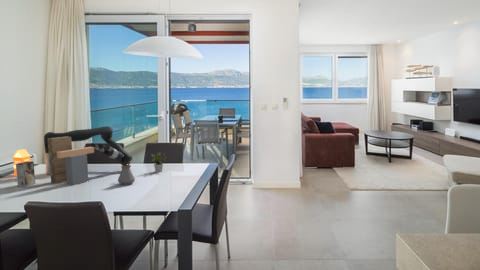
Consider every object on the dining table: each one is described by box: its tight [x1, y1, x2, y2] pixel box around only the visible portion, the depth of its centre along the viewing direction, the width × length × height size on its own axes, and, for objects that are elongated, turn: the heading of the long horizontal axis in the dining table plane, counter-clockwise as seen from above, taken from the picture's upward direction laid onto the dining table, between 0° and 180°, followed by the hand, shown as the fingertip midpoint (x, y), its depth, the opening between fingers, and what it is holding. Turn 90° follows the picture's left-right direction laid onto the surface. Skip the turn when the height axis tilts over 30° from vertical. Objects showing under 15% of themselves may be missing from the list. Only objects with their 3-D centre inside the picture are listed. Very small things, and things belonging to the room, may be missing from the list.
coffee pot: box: [117, 159, 136, 186], centre depth 246 cm, size 21×12×15 cm, turn 4°
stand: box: [48, 136, 73, 185], centre depth 249 cm, size 6×14×32 cm, turn 149°
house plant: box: [150, 152, 167, 173], centre depth 277 cm, size 14×14×16 cm
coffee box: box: [16, 161, 36, 188], centre depth 239 cm, size 9×6×16 cm
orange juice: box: [12, 148, 31, 177], centre depth 271 cm, size 8×9×20 cm
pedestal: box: [65, 154, 89, 186], centre depth 245 cm, size 7×12×20 cm, turn 149°
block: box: [57, 146, 95, 158], centre depth 244 cm, size 4×26×4 cm, turn 149°
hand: (94, 144), depth 256 cm, fingers open, 8 cm apart
